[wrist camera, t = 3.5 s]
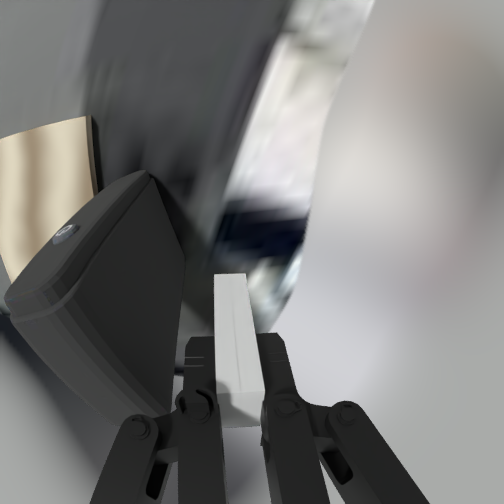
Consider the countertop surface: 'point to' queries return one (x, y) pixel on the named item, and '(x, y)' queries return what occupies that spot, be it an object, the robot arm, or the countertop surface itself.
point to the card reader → (108, 301)
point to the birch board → (42, 186)
